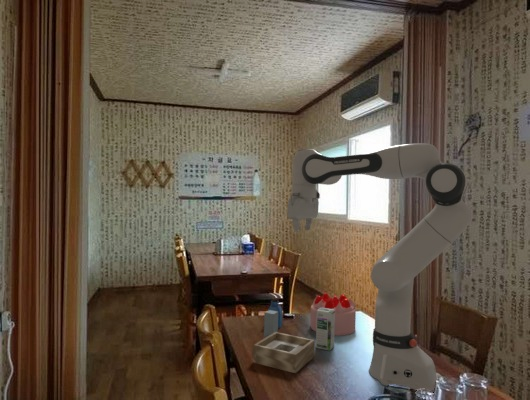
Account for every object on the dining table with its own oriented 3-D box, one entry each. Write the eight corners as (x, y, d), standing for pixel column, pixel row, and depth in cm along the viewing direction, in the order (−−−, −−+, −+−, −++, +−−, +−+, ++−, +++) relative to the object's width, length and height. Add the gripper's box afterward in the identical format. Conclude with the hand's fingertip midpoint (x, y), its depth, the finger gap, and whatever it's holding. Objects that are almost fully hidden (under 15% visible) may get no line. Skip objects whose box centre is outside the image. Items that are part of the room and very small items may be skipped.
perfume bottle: (280, 327, 172) (280, 300, 172) (266, 326, 173) (266, 299, 173) (282, 323, 178) (282, 297, 178) (269, 322, 179) (269, 296, 179)
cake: (308, 321, 183) (309, 290, 183) (351, 322, 182) (352, 292, 182) (312, 335, 163) (312, 301, 163) (360, 337, 162) (361, 302, 162)
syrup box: (315, 348, 149) (316, 310, 149) (320, 343, 154) (321, 306, 154) (329, 351, 146) (330, 312, 146) (334, 346, 151) (335, 308, 151)
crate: (314, 356, 140) (314, 340, 140) (295, 373, 126) (295, 354, 126) (274, 347, 148) (275, 331, 148) (253, 362, 134) (253, 344, 134)
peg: (277, 341, 154) (278, 311, 154) (272, 345, 151) (273, 314, 151) (268, 340, 156) (269, 310, 156) (263, 343, 153) (264, 312, 153)
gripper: (299, 192, 133) (298, 233, 133) (321, 194, 151) (320, 229, 151) (283, 192, 136) (282, 231, 136) (306, 193, 154) (305, 228, 154)
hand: (302, 230), depth 144 cm, fingers open, 8 cm apart
